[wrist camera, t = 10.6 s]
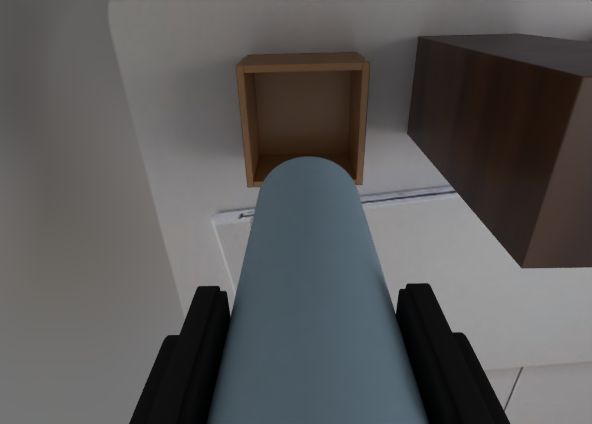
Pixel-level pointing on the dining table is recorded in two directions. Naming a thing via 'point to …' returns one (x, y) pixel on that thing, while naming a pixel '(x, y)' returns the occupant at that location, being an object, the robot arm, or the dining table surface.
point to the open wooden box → (303, 110)
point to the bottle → (313, 313)
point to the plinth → (512, 137)
